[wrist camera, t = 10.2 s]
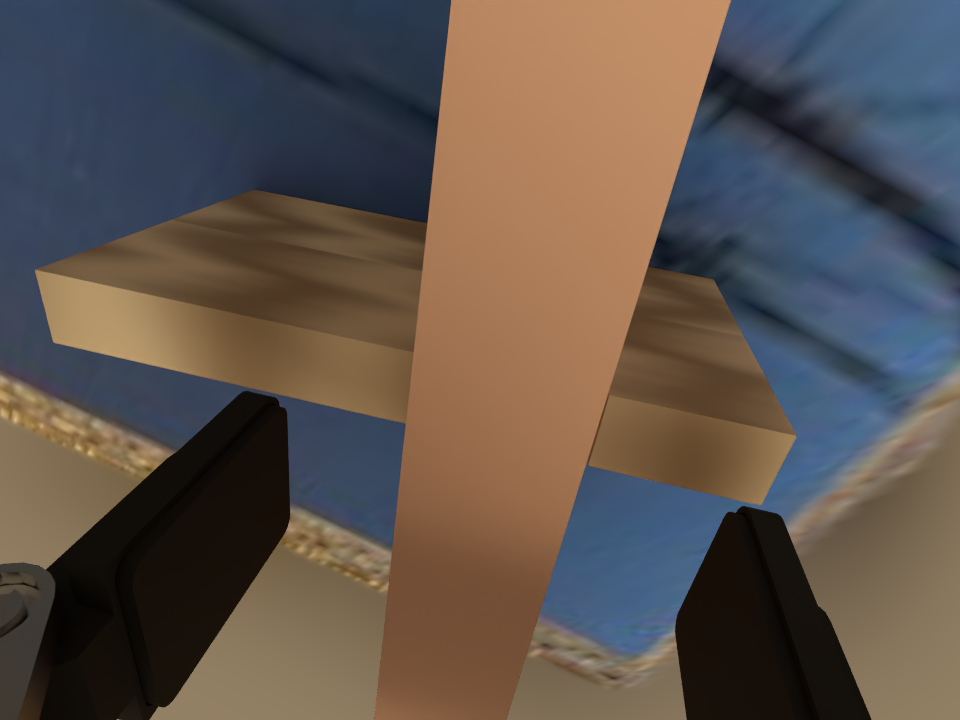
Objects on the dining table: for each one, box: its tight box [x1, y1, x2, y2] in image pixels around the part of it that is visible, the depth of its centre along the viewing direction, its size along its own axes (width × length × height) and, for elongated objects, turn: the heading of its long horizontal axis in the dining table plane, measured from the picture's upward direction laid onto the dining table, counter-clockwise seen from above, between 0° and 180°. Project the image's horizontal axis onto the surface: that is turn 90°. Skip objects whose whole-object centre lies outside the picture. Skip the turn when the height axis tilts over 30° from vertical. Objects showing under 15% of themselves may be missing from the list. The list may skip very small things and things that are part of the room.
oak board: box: [35, 190, 797, 505], centre depth 18 cm, size 18×2×10 cm, turn 82°
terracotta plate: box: [374, 0, 731, 720], centre depth 15 cm, size 2×16×16 cm, turn 171°
